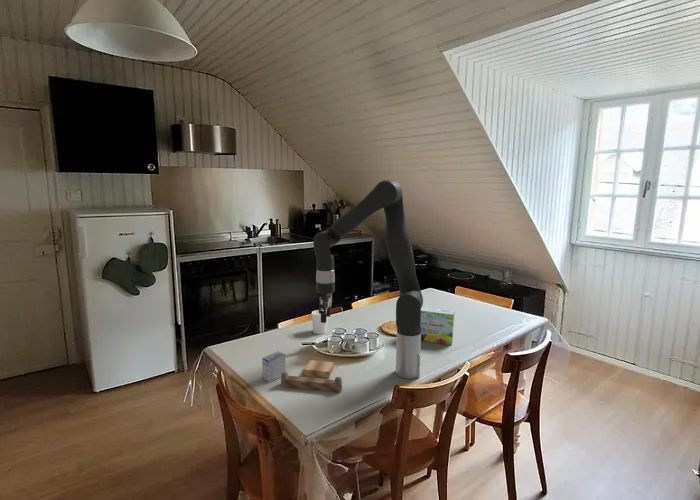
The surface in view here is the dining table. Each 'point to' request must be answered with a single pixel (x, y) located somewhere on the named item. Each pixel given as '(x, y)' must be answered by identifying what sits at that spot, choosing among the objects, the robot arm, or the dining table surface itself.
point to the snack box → (437, 325)
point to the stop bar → (311, 383)
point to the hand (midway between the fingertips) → (325, 319)
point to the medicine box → (273, 366)
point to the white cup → (318, 323)
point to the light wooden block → (319, 369)
